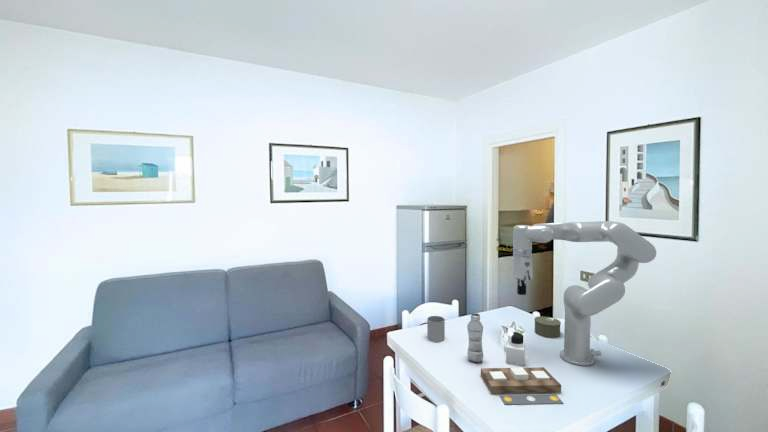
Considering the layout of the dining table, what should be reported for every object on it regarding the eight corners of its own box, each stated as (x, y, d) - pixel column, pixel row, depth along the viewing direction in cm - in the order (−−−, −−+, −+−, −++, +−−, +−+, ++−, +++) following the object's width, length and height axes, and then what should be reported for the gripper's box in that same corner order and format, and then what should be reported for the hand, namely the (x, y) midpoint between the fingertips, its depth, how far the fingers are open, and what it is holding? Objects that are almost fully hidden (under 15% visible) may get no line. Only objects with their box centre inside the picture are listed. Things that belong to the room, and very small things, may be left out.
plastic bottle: (484, 364, 134) (484, 318, 133) (467, 363, 135) (467, 316, 134) (482, 357, 140) (482, 312, 139) (466, 356, 141) (466, 311, 140)
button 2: (543, 378, 122) (543, 370, 122) (549, 385, 117) (550, 377, 117) (530, 378, 122) (530, 370, 122) (536, 385, 117) (537, 377, 117)
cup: (447, 337, 160) (447, 318, 160) (440, 343, 153) (440, 323, 153) (431, 333, 165) (431, 314, 164) (424, 339, 158) (424, 320, 157)
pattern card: (555, 395, 113) (555, 393, 113) (563, 403, 108) (563, 402, 108) (499, 396, 112) (499, 394, 112) (504, 404, 108) (504, 403, 108)
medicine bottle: (524, 358, 138) (525, 331, 138) (524, 366, 132) (524, 338, 131) (507, 355, 141) (507, 329, 141) (505, 363, 135) (506, 335, 134)
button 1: (501, 378, 122) (501, 371, 122) (506, 386, 117) (506, 378, 117) (489, 379, 122) (489, 371, 122) (493, 386, 117) (493, 378, 117)
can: (529, 332, 165) (529, 319, 165) (541, 327, 173) (541, 314, 172) (553, 340, 156) (553, 327, 155) (564, 334, 163) (565, 321, 162)
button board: (543, 374, 126) (543, 367, 126) (561, 393, 114) (561, 385, 114) (480, 375, 125) (480, 368, 125) (491, 394, 113) (491, 386, 113)
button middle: (522, 375, 122) (522, 367, 122) (528, 382, 117) (528, 374, 117) (509, 375, 122) (510, 367, 122) (515, 382, 117) (515, 374, 117)
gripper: (539, 256, 133) (538, 299, 134) (523, 250, 148) (522, 289, 149) (521, 256, 133) (520, 299, 134) (506, 250, 148) (506, 289, 149)
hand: (521, 294), depth 141 cm, fingers closed
